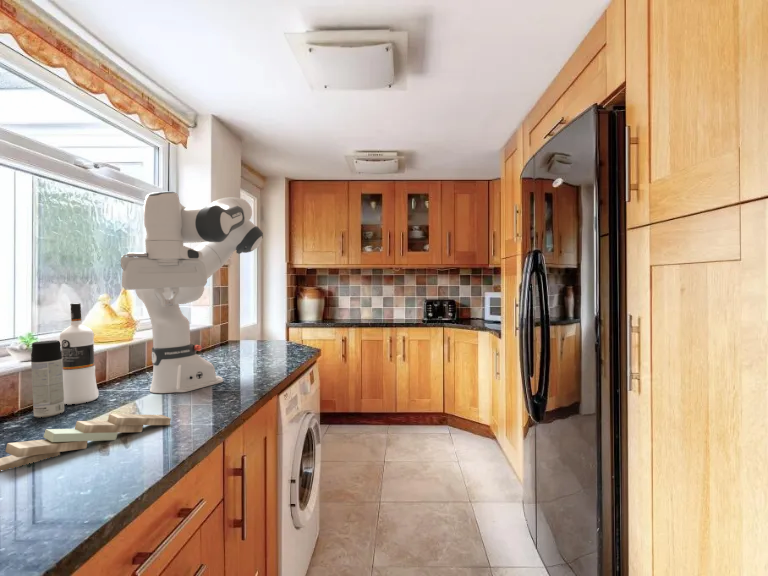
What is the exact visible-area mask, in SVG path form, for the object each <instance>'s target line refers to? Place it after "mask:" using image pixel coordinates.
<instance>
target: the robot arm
mask: <svg viewBox="0 0 768 576" xmlns="http://www.w3.org/2000/svg"><path fill="white" fill-rule="evenodd" d="M143 204H144V205H143V221H144V228H145V231H146V236H145V238H144V239H145V241H144V243H145V252H127V253H125V254H123V255H122V256H121V258H120V267H121V269H122V275H121V286H122V288H123V289H124V290H126V291H129V290H130V291H132V290H135V293H136V294H135V295H136V296H137V297H138V299H140V300H141V302H142V303H143V304H144V306H145V308H146V310H147V313H148V316H149V319H150V323H151V332H152V343H153V344H152V346H153V347H152V348H151V362H152V365H153V367H152V368H153V370H152V379H151V385H150V388H149V392H150V393H154V394H170V393H187V392H191V391H194V390H198V389H201V388H205V387H210V386H213V385H217V384H221V383H223V382H224V378H223V377H222V376H219V375H217V373H216V369H215V366H214V364H213V363H211V362H210V361H208V360H207V359H205V358H204V357H202V356H200V355H199V354H197V351H198V352H200V351H202V348H203V347H202V345H200V344H192V343H191V333H190V331H191V330H190V321H189V319H188V318H187V317H186V316H185V315H184V314H183V313H182V311H181V310H182V309H181V308H180V305H185V304H189V303H193V302H195V301H198V300H199V299H200V298H201V297H202V296H203V294H204V290H205V286H206V284H208V279H209V278H210V277H211V276H213V275H214V274H215V273H217V271H219V270H220V269H221V268H222V267H223V266H224V265H225V264H226V263H227V262H228V261H229V260H230V258H231V257H232V255H233V254H234V252H235V251H236V252H235V253H236V254H238V255H239V254H242V253H244V254H245V253H252V252H253V251H254V250H256V249H257V248H259V247H260V245H261V243H262V241H263V238H264V232H263V231H262V229H260V228H259V226H256V225H255V223H253V222H252V221H251V219H252V215H253V209H252V207H251V205H250V203H249V202H248V201H247V200H245V199H243V198H240V197H234V196H231V197H222V198H219V199H216V200H214V201H212V202H211V203H210V204H209V205H208V206H201V207H189V208H188V207H185V206H184V205H183V204H181V201H180V197H179V195H178V193H177V192H174V191H158V192H157V191H154V192H153V191H152V192H150V193H148V194H146V196H145V200H144V203H143ZM190 243H191V244H193V243H199V244H198V245H197V246H196V247H194V248H192V247H188V246H185V245H184V244H190Z"/></svg>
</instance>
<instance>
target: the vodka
mask: <svg viewBox="0 0 768 576" xmlns="http://www.w3.org/2000/svg"><path fill="white" fill-rule="evenodd" d="M81 305H82V304H81V303H80V302H72V303H70V305H69V307H70V321H71V322H70V325H69V326H68V327H66V328H65V329H64V330H62V331H61V332H60V335H59V342H60V345H61V346H60V347H61V351H62V368H63V390H64V405H66V404H67V406H69V405H71V406H72V404H75V405H79V404H80V405H81V404H87V403H90V402H93V401H95V400H96V399H98V398H99V394H100V393H99V389H98V385H97V380H96V379H97V378H96V364H95V347H94V344H95V341H94V340H95V339H94V338H95V337H94V336H95V335H94V334H95V332H94V331H93V329H92V328H90V327H88V326H86V325H84V324H83V322H82V306H81ZM86 402H87V403H86Z"/></svg>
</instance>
